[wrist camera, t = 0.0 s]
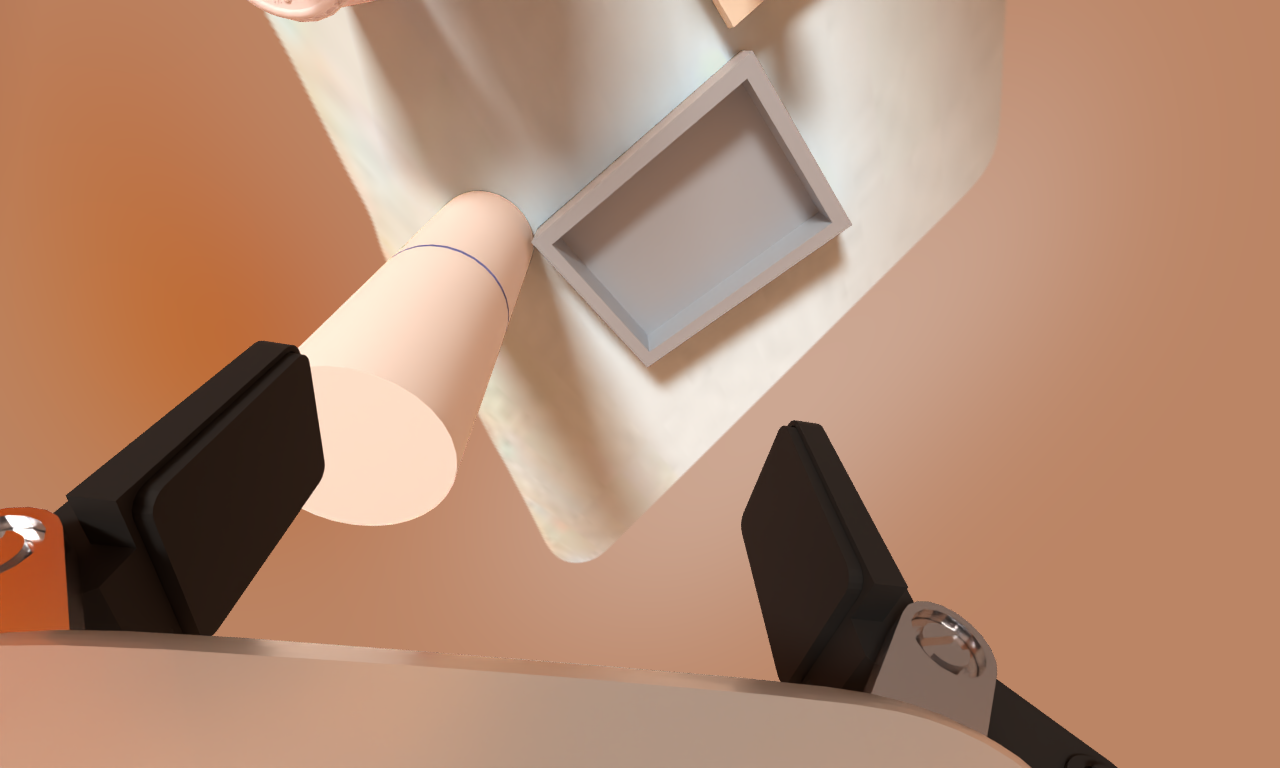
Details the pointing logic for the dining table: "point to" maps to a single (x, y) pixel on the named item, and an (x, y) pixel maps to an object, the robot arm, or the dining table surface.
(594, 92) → the dining table surface
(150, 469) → the robot arm
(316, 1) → the smoothie
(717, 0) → the beige stepped block
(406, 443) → the cylindrical container
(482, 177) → the dining table surface
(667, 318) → the tray
